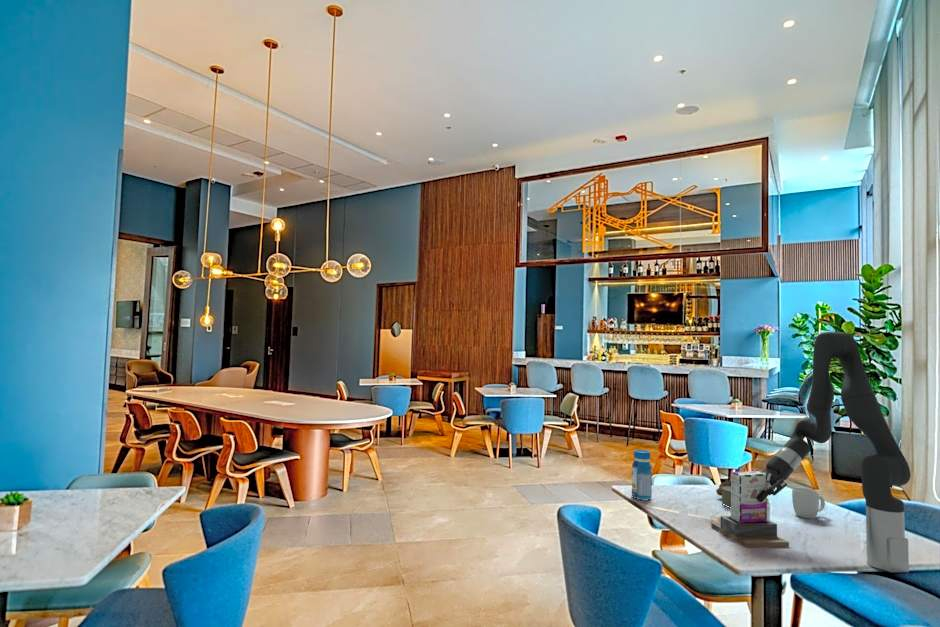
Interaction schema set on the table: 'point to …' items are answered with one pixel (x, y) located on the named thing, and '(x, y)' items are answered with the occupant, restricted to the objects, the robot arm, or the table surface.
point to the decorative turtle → (726, 483)
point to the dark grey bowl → (726, 495)
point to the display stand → (751, 533)
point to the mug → (807, 502)
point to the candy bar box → (748, 497)
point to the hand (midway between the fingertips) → (752, 497)
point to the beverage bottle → (641, 475)
